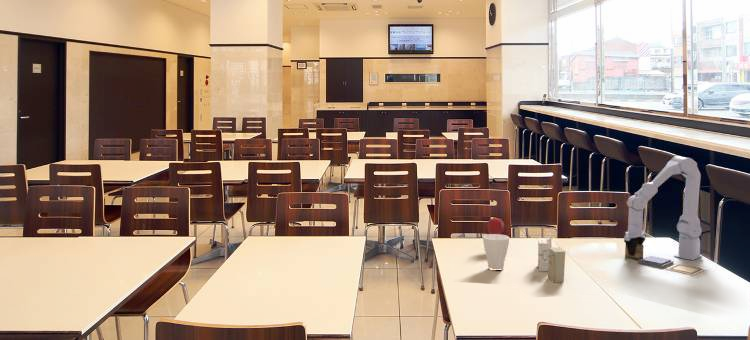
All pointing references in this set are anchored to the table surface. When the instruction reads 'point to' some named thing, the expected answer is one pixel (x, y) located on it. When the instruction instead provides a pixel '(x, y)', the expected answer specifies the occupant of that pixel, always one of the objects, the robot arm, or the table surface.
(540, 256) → the gray blocky tower
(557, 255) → the skincare box
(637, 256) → the brown rectangular block
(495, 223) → the lollipop
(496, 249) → the cup
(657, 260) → the ink pad
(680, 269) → the marked card
